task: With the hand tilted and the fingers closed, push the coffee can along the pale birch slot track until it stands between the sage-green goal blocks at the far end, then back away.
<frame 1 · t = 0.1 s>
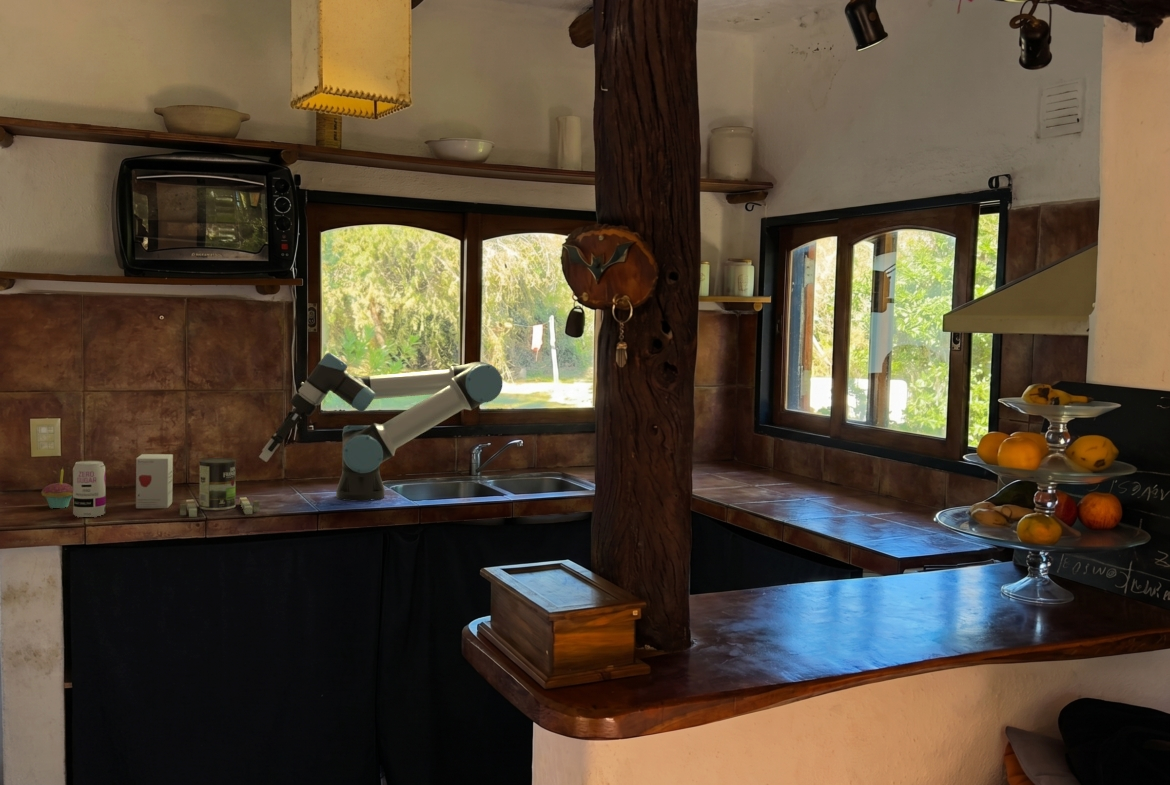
hand: (264, 456, 307), 15 cm above the countertop, tool tilted 35°, fingers open, 13 cm apart
supplement box: (154, 506, 303), on the countertop
slot track: (220, 512, 296), on the countertop
coffee can: (217, 507, 305), on the countertop
cupcake: (58, 507, 297), on the countertop
supplement can: (89, 516, 287), on the countertop
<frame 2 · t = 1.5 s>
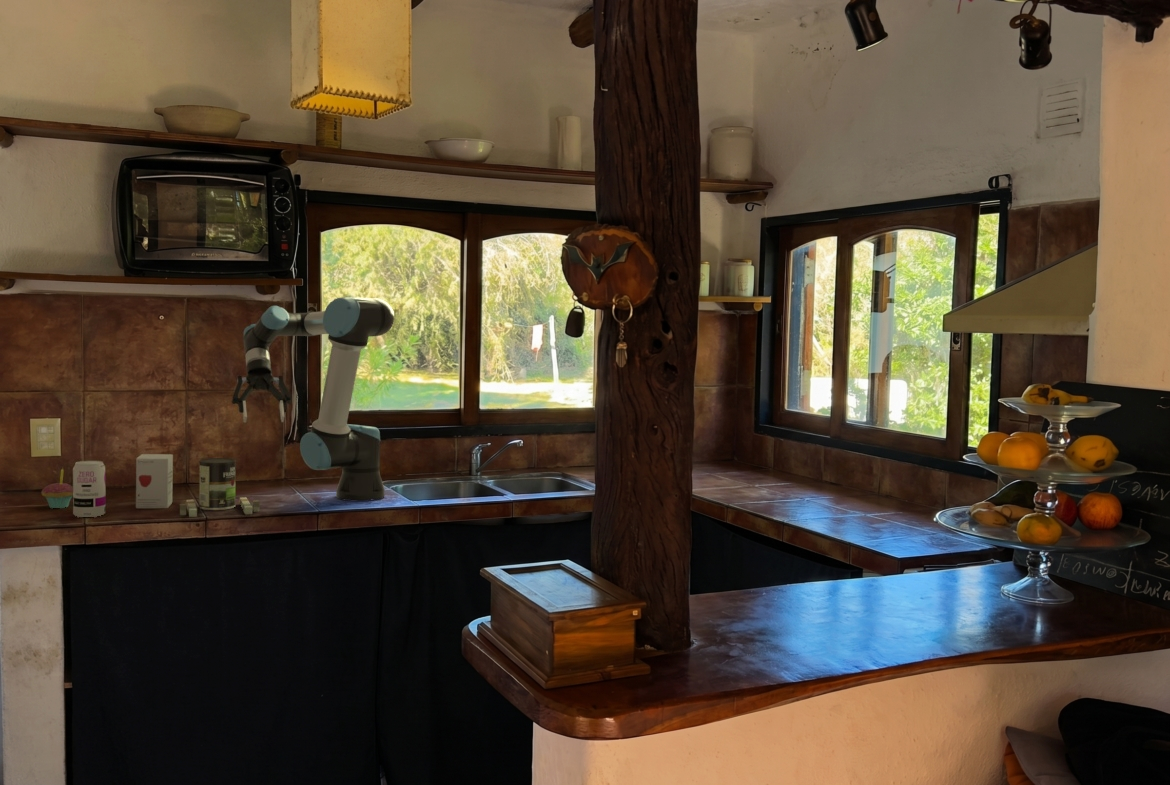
hand: (264, 419, 316), 25 cm above the countertop, tool tilted 45°, fingers open, 10 cm apart
nothing on the countertop moved.
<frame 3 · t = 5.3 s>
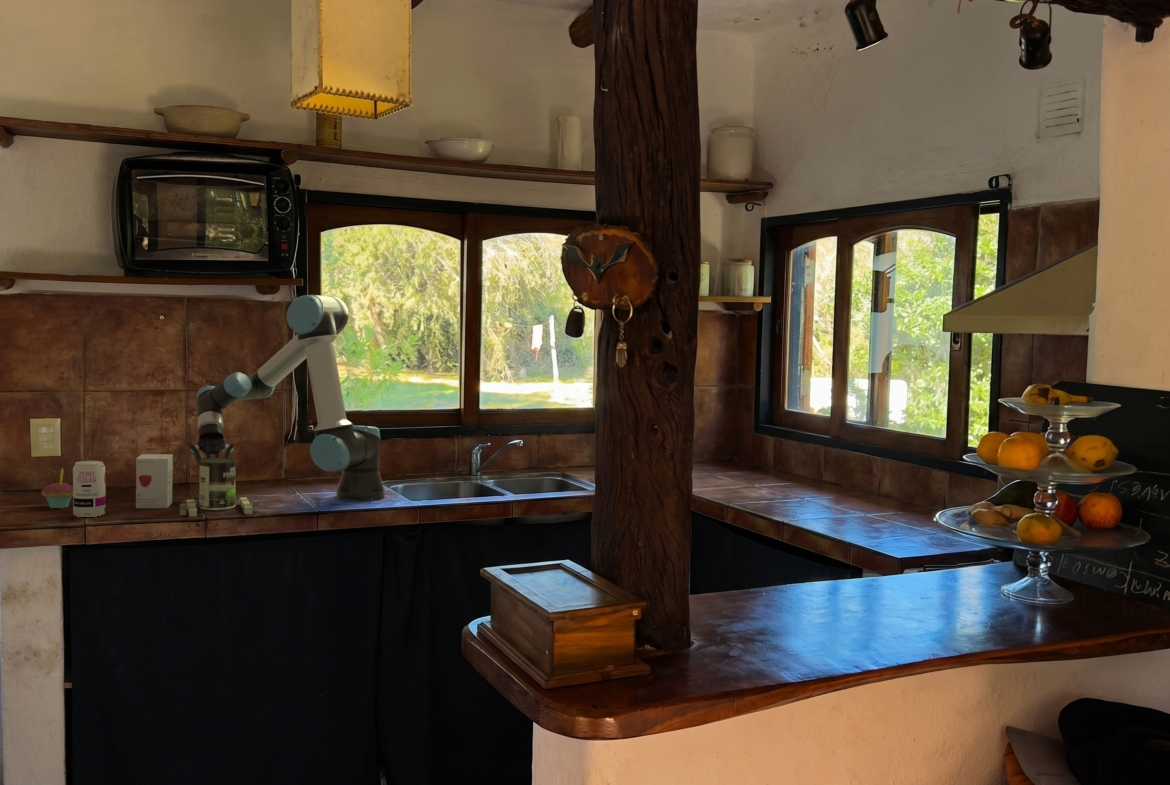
hand: (214, 491, 309), 4 cm above the countertop, tool tilted 45°, fingers closed
coffee can: (217, 507, 304), on the countertop, touching gripper
everything else where it was.
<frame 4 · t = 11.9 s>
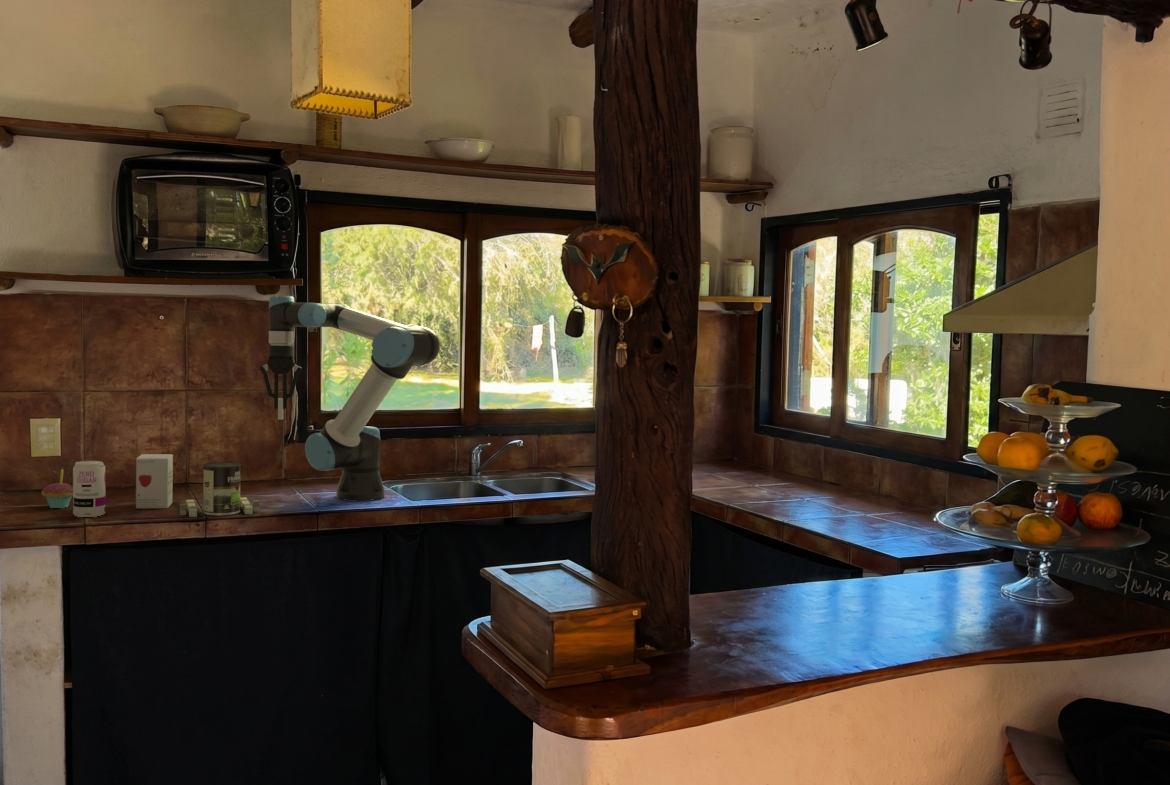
hand: (280, 419, 325), 24 cm above the countertop, tool pointing down, fingers closed
coffee can: (221, 513, 297), on the countertop
everything else where it was.
at the end: coffee can 1.0 cm from the slot track (horizontally); coffee can tilted 0°; the gripper is holding nothing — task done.
